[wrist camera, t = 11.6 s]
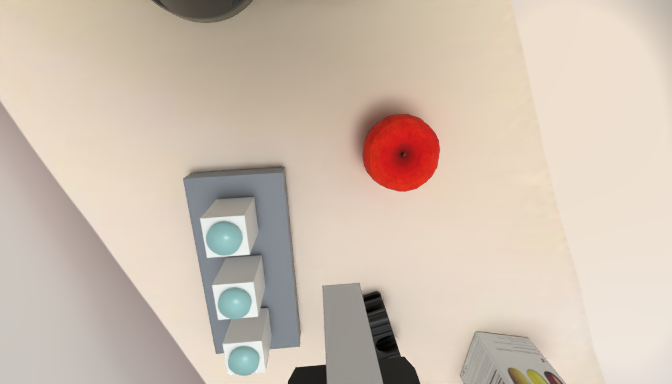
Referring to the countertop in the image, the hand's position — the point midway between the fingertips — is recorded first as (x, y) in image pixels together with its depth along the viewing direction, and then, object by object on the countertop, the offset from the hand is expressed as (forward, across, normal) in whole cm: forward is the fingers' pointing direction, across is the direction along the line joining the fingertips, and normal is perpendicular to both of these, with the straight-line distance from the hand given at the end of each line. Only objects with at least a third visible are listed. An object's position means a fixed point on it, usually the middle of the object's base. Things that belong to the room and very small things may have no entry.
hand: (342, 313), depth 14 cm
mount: (+32, -11, -14) cm, 37 cm away
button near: (+29, -11, -6) cm, 32 cm away
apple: (+33, +9, +1) cm, 34 cm away
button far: (+29, -11, -22) cm, 38 cm away
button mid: (+29, -11, -14) cm, 34 cm away
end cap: (+33, +5, -26) cm, 42 cm away
